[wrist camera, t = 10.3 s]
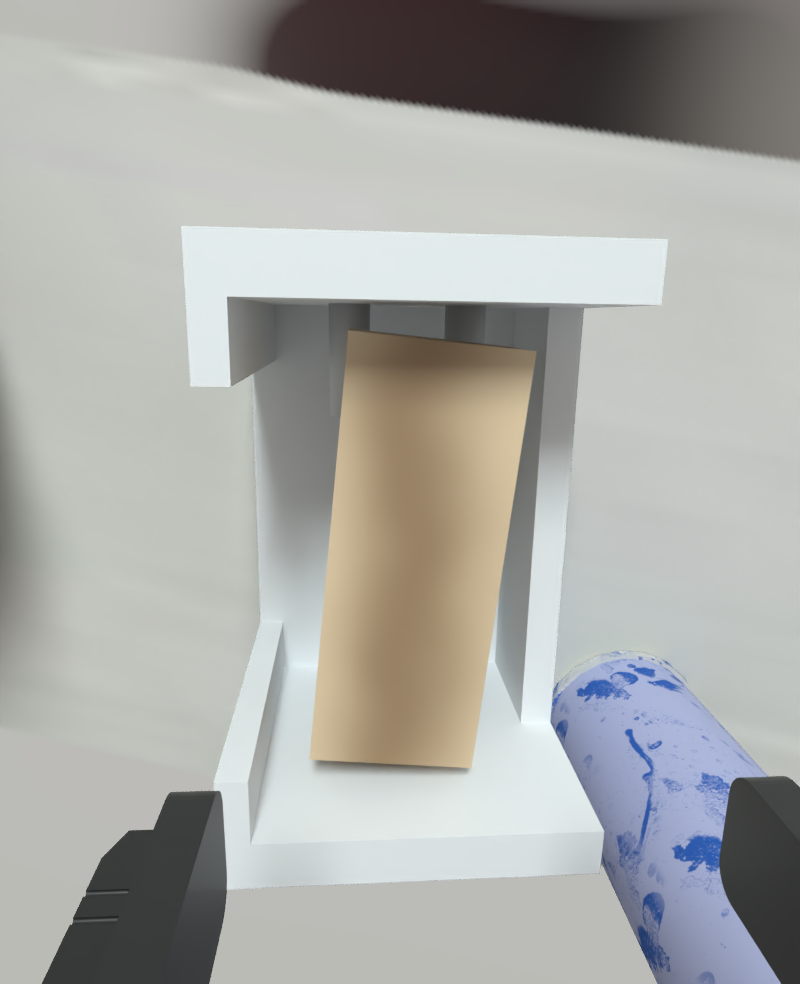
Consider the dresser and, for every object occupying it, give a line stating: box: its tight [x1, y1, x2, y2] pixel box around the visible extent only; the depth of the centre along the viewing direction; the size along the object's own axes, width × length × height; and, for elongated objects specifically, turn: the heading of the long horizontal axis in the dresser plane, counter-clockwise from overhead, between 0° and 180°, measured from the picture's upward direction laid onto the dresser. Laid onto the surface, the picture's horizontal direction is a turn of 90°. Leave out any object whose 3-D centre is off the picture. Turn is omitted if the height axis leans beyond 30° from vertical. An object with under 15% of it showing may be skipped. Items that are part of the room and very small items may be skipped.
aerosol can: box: [550, 651, 781, 984], centre depth 25 cm, size 8×8×20 cm
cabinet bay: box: [181, 226, 668, 889], centre depth 25 cm, size 12×19×12 cm, turn 179°
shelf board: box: [309, 329, 536, 768], centre depth 23 cm, size 6×14×4 cm, turn 174°
